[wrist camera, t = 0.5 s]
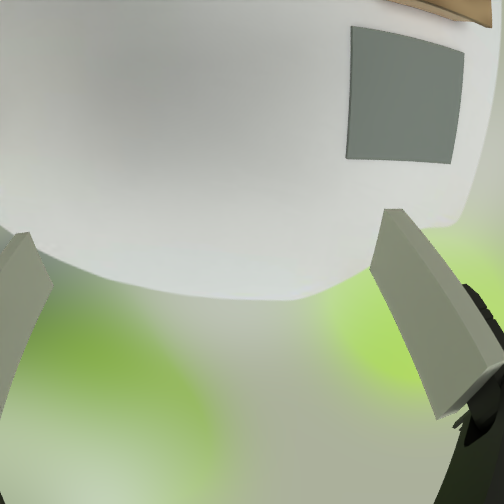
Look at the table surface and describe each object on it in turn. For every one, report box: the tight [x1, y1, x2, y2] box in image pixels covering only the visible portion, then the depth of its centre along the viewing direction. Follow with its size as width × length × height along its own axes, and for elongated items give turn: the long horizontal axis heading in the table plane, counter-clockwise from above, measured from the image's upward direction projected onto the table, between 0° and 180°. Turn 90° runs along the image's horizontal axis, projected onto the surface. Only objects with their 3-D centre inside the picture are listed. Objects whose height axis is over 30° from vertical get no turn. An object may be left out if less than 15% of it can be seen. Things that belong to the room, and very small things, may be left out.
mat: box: [346, 26, 464, 164], centre depth 32 cm, size 17×17×1 cm
